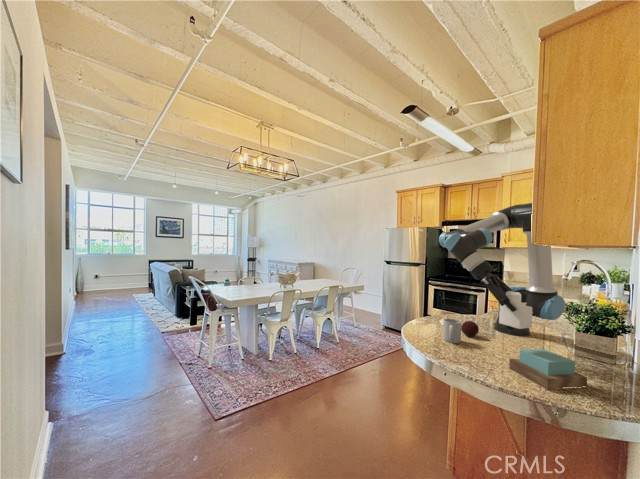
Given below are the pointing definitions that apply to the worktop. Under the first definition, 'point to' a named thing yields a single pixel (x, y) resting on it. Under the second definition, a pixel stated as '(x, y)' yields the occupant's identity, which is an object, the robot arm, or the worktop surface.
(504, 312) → the medicine bottle
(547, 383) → the tower base slab
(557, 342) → the worktop surface
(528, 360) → the tower top block
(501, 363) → the worktop surface
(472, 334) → the dark red textured ball
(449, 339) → the cup
